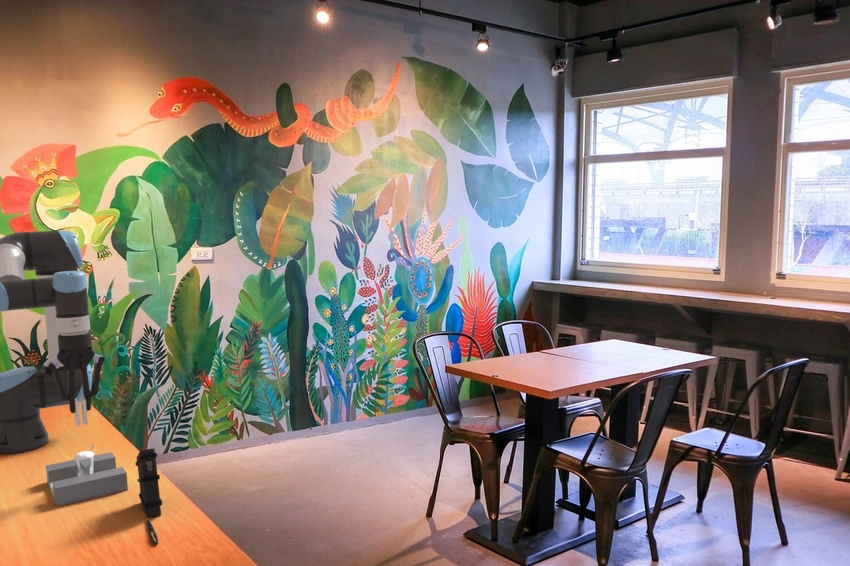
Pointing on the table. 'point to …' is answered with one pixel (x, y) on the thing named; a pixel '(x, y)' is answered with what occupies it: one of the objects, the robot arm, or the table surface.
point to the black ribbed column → (149, 482)
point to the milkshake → (85, 462)
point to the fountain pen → (152, 532)
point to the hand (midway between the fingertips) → (81, 423)
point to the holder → (85, 480)
